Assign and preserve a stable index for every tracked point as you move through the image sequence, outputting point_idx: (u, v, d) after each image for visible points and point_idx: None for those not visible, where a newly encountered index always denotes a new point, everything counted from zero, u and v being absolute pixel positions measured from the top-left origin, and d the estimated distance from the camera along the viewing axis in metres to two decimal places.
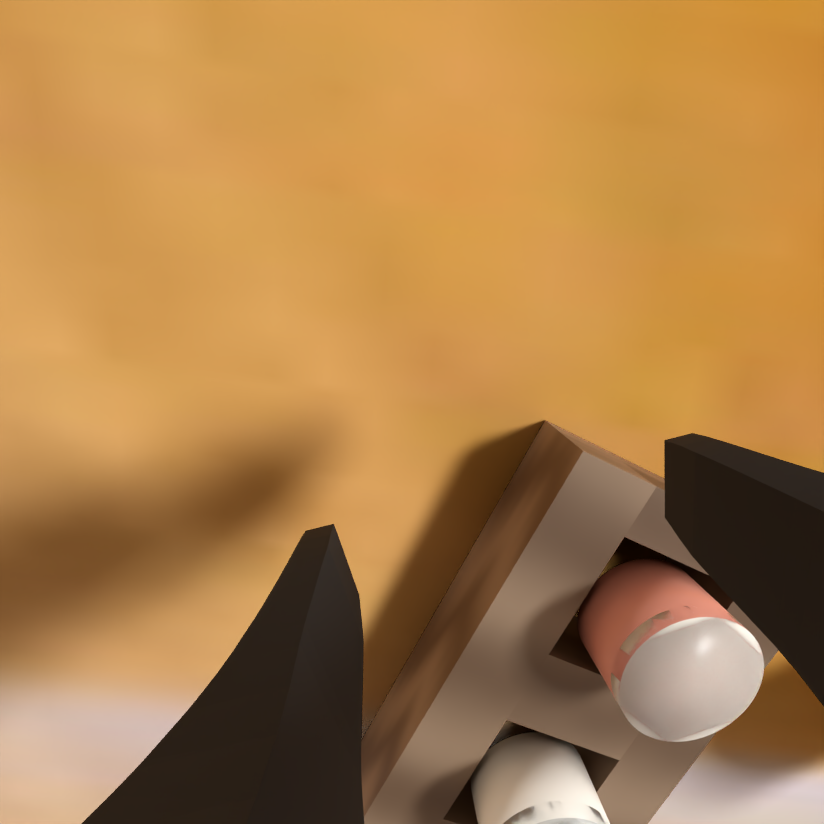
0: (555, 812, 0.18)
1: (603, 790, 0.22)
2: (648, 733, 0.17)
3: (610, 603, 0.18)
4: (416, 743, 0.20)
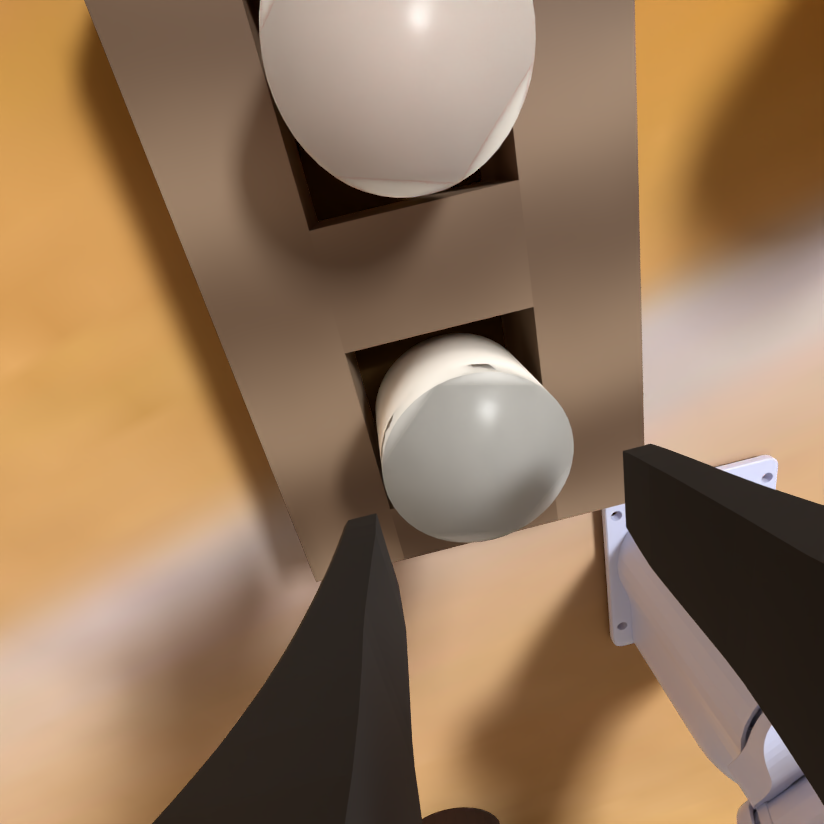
0: (415, 397, 0.12)
1: (547, 358, 0.15)
2: (418, 191, 0.10)
3: None
4: (274, 449, 0.15)
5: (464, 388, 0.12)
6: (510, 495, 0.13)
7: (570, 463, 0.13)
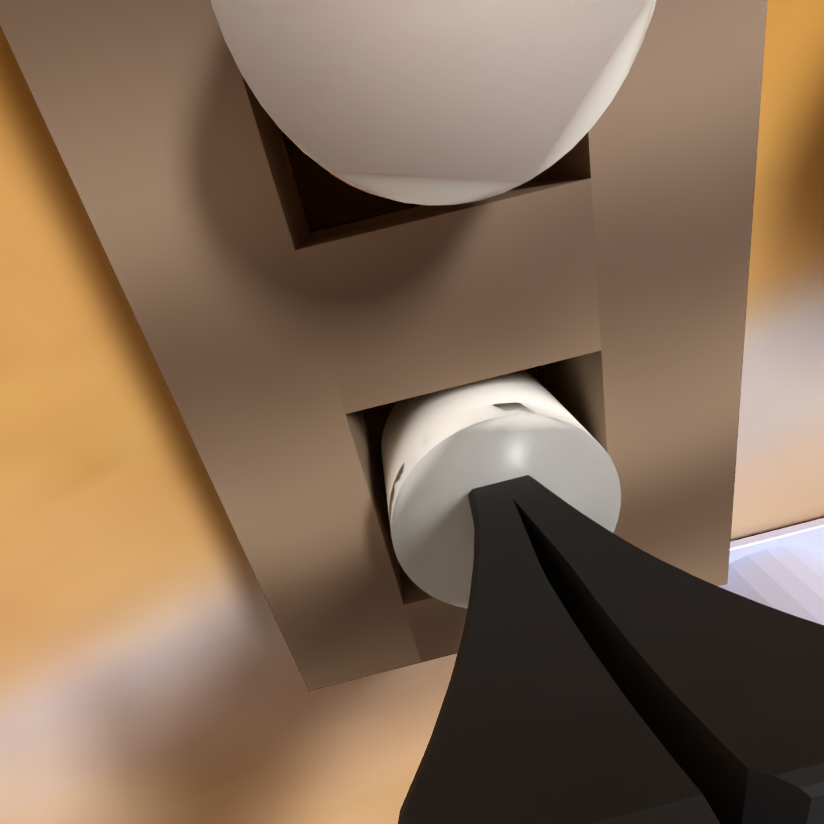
0: (432, 444, 0.10)
1: (616, 416, 0.11)
2: (463, 194, 0.06)
3: None
4: (252, 536, 0.12)
5: (493, 434, 0.10)
6: None
7: (616, 519, 0.11)
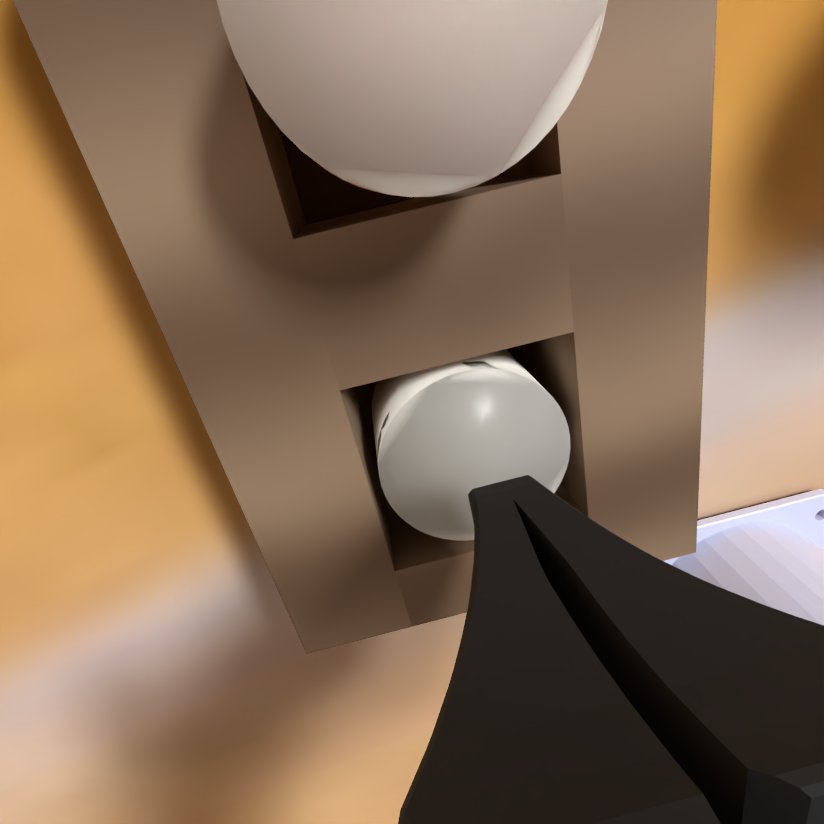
0: (411, 395, 0.12)
1: (588, 393, 0.12)
2: (441, 188, 0.07)
3: None
4: (254, 505, 0.13)
5: (461, 385, 0.12)
6: None
7: (567, 460, 0.13)
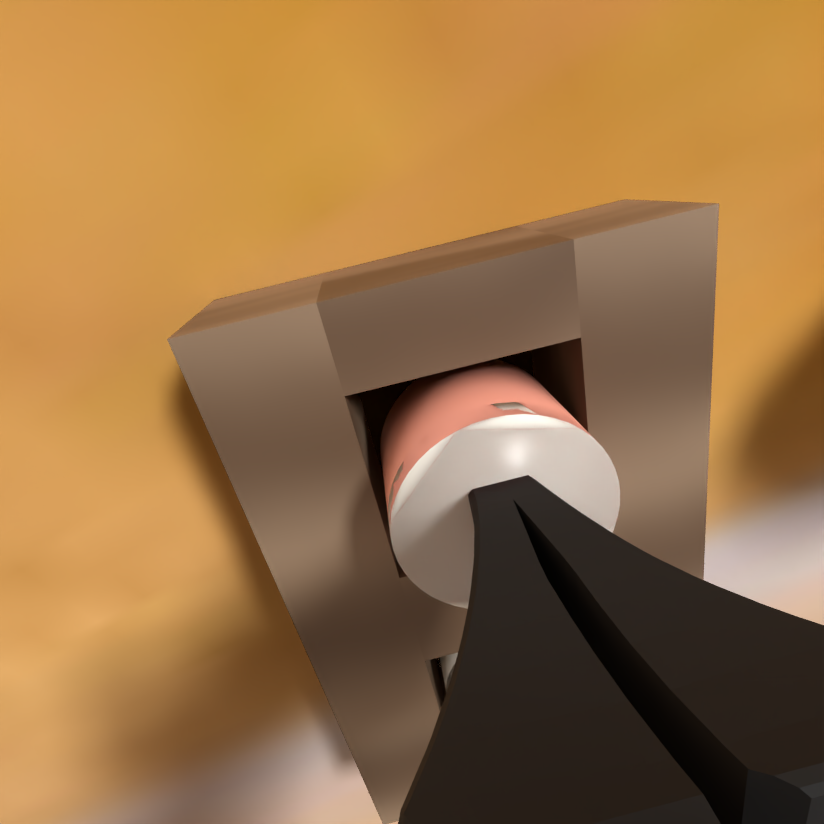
0: None
1: None
2: None
3: (383, 476, 0.12)
4: (353, 733, 0.16)
5: None
6: None
7: None
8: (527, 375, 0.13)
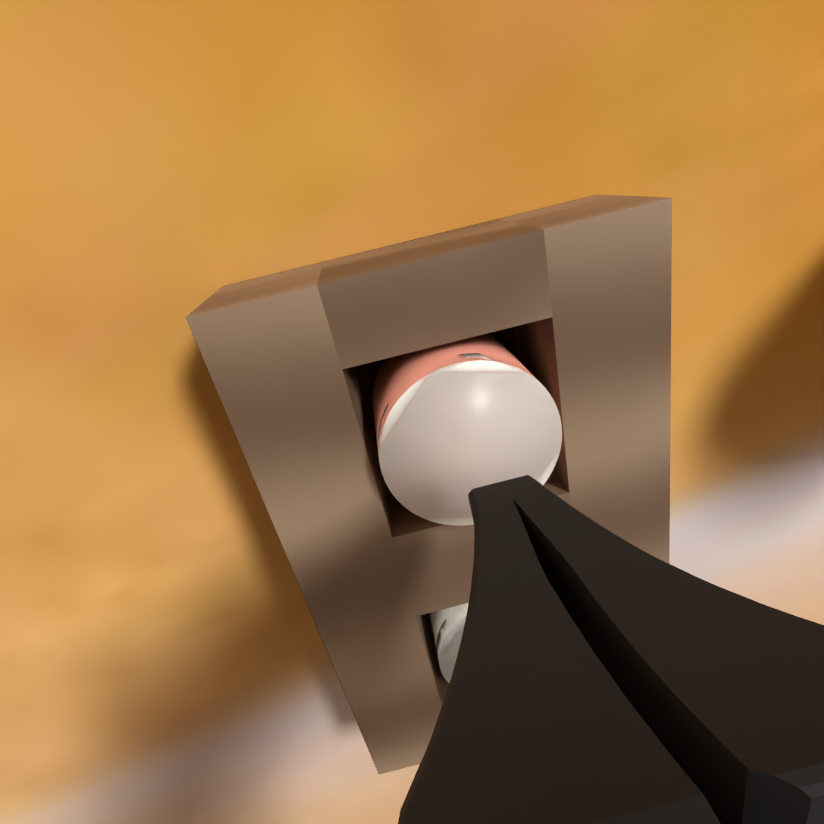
0: (463, 612, 0.17)
1: None
2: None
3: (374, 420, 0.15)
4: (351, 685, 0.18)
5: None
6: None
7: None
8: (492, 338, 0.15)
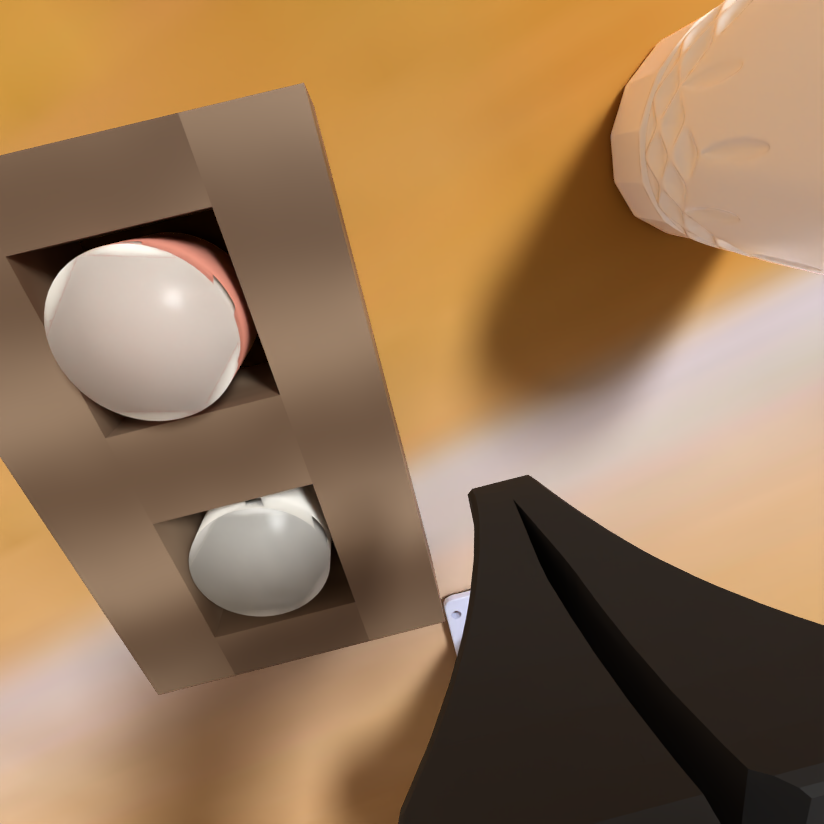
0: (208, 523, 0.18)
1: (333, 520, 0.18)
2: (174, 416, 0.15)
3: None
4: (103, 596, 0.18)
5: (239, 518, 0.17)
6: (288, 584, 0.19)
7: (328, 562, 0.19)
8: (205, 244, 0.16)
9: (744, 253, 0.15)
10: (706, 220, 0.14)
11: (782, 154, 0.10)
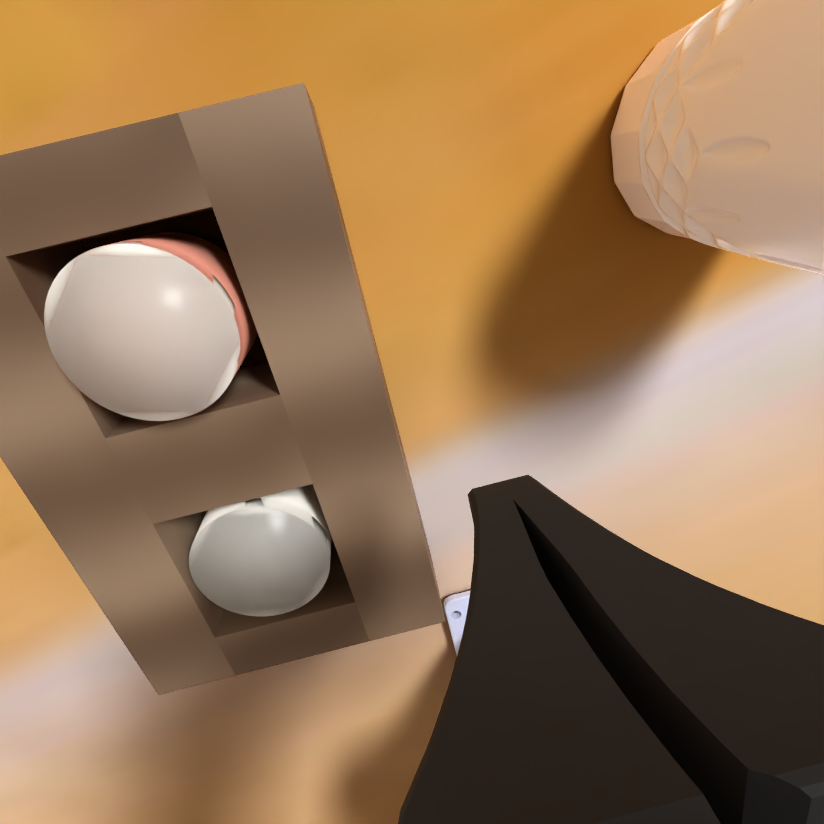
0: (208, 523, 0.18)
1: (333, 520, 0.18)
2: (174, 416, 0.15)
3: None
4: (103, 596, 0.18)
5: (239, 518, 0.17)
6: (288, 584, 0.19)
7: (328, 562, 0.19)
8: (205, 244, 0.16)
9: (744, 253, 0.15)
10: (706, 220, 0.14)
11: (782, 154, 0.10)
